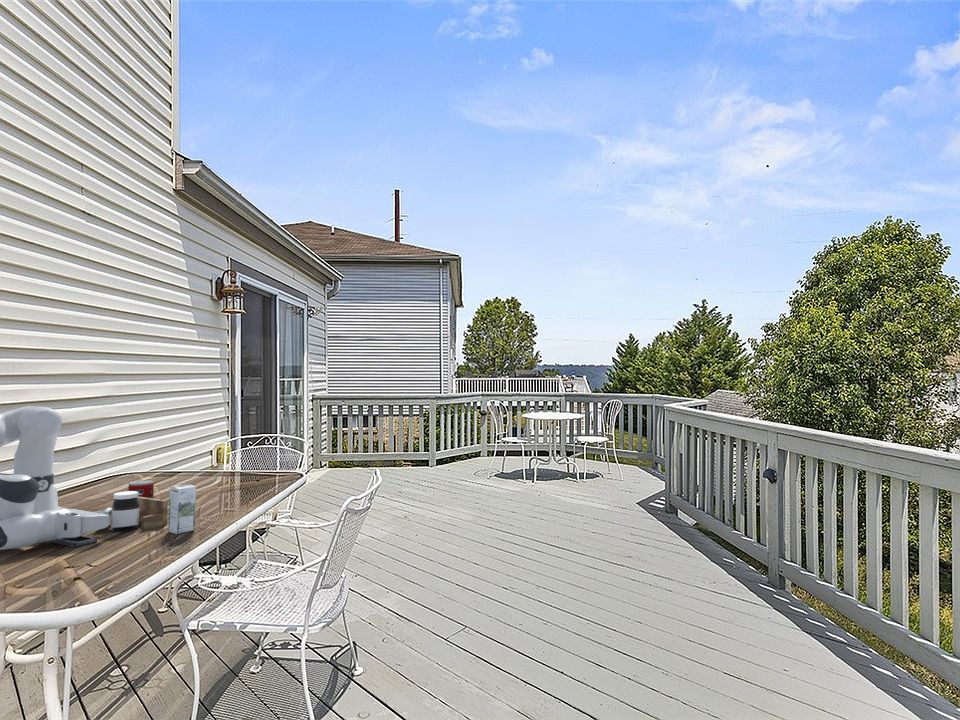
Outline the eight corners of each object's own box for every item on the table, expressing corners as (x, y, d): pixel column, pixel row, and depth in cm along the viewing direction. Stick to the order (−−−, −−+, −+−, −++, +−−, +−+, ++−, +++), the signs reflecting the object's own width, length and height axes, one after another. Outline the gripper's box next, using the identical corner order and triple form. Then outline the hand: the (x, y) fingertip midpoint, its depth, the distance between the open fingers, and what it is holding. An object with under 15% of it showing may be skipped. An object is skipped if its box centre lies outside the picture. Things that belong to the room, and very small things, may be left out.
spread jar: (139, 530, 180) (140, 494, 181) (97, 536, 174) (98, 498, 174) (137, 522, 190) (138, 488, 191) (97, 527, 184) (98, 492, 184)
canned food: (123, 512, 204) (124, 482, 205) (145, 508, 211) (145, 479, 212) (135, 515, 201) (136, 484, 201) (157, 510, 208) (158, 481, 208)
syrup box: (185, 528, 183) (187, 483, 184) (195, 531, 180) (196, 485, 181) (167, 532, 179) (169, 486, 179) (177, 535, 175) (178, 488, 176)
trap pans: (39, 539, 169) (39, 535, 169) (61, 535, 175) (61, 531, 175) (75, 547, 162) (75, 543, 162) (97, 542, 167) (97, 538, 167)
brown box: (111, 524, 188) (111, 500, 188) (134, 519, 195) (134, 496, 196) (144, 530, 181) (144, 505, 181) (166, 524, 188) (167, 500, 189)
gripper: (37, 530, 170) (85, 520, 182) (78, 538, 161) (125, 527, 174) (38, 509, 170) (85, 500, 183) (78, 516, 161) (126, 506, 174)
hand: (105, 513), depth 178 cm, fingers closed
